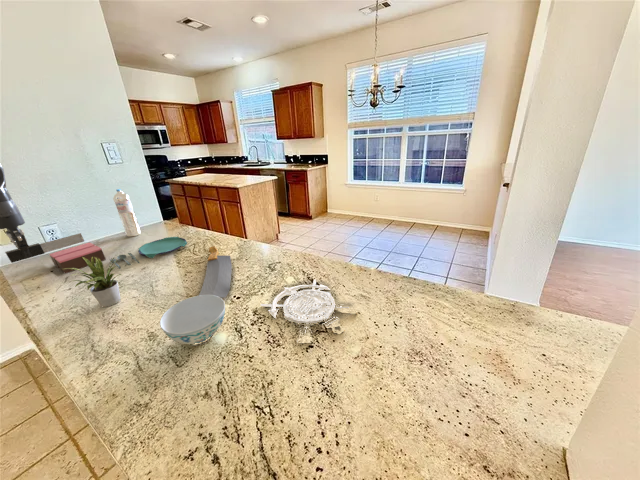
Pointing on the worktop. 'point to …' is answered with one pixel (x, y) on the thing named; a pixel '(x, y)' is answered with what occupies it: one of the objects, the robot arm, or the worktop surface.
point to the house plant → (101, 283)
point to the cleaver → (217, 275)
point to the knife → (45, 247)
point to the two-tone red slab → (76, 257)
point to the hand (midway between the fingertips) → (27, 256)
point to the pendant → (305, 304)
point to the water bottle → (126, 214)
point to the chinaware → (193, 319)
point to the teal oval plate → (155, 248)
